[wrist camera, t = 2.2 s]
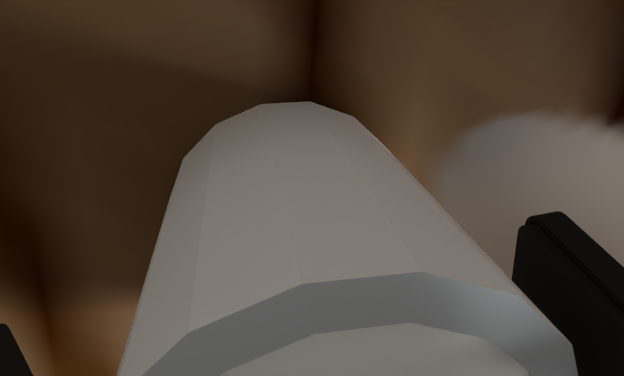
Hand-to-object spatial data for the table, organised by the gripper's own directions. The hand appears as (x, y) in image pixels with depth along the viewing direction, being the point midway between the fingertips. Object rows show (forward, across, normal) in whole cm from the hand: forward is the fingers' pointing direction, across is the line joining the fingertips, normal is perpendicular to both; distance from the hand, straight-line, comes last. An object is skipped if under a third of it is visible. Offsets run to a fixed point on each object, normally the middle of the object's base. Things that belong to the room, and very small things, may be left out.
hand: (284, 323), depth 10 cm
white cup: (+4, -1, 0) cm, 4 cm away
